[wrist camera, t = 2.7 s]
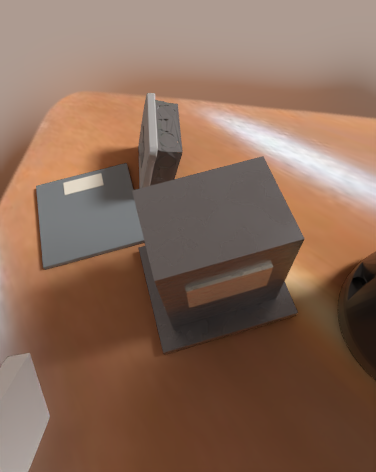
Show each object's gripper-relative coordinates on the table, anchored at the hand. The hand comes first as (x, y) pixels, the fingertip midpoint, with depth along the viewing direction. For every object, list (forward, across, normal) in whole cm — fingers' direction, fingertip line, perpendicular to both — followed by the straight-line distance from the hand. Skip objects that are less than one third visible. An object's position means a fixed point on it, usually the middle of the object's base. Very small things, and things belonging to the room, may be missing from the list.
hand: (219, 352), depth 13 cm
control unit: (+25, +2, -8) cm, 26 cm away
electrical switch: (+37, -2, +3) cm, 37 cm away
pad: (+33, -11, 0) cm, 35 cm away
